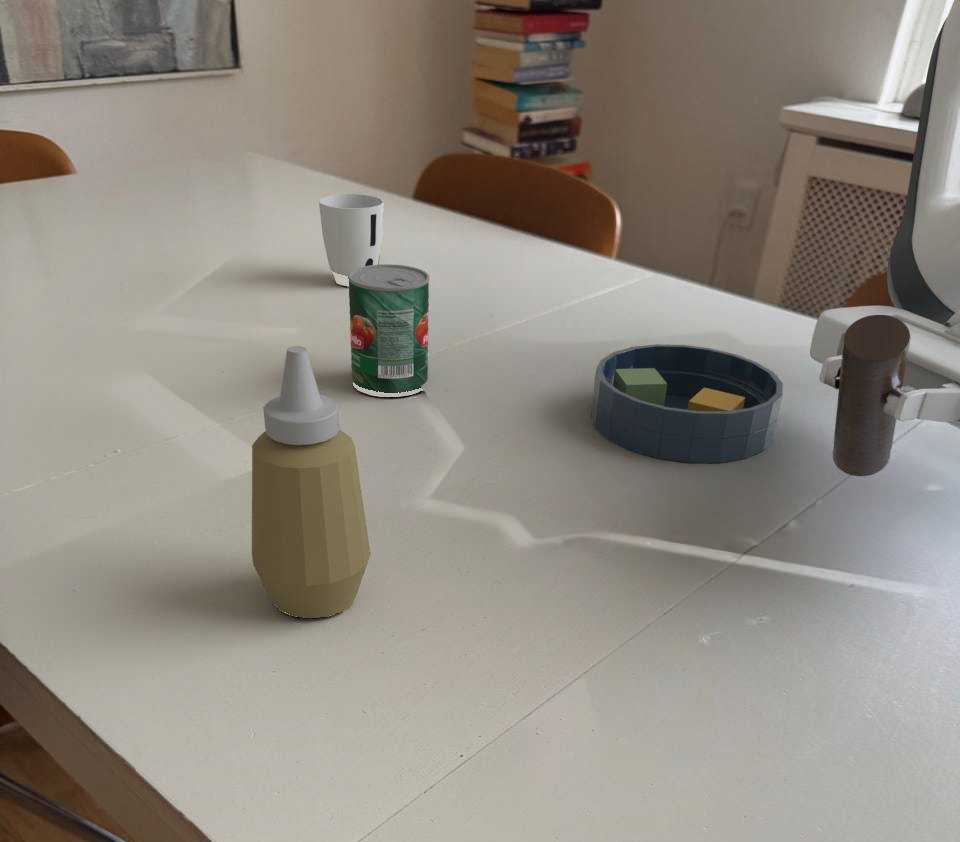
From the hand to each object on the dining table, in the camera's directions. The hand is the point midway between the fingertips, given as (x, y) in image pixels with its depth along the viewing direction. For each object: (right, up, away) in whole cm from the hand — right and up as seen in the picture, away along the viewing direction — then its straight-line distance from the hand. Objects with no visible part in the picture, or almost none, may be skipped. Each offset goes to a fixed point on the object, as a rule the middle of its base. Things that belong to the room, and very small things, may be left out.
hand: (860, 389), depth 67 cm
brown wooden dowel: (+3, -3, +7) cm, 8 cm away
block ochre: (-4, +2, +26) cm, 26 cm away
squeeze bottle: (-37, -14, +4) cm, 40 cm away
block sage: (-11, +5, +30) cm, 32 cm away
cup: (-42, +30, +64) cm, 82 cm away
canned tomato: (-35, +10, +36) cm, 51 cm away
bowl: (-6, +3, +29) cm, 30 cm away
